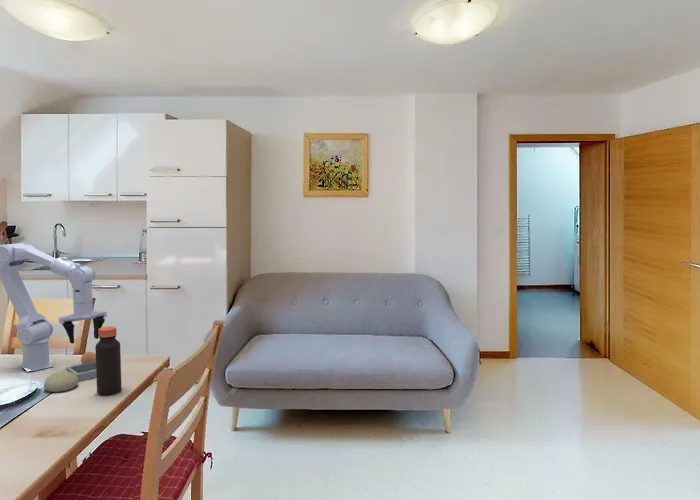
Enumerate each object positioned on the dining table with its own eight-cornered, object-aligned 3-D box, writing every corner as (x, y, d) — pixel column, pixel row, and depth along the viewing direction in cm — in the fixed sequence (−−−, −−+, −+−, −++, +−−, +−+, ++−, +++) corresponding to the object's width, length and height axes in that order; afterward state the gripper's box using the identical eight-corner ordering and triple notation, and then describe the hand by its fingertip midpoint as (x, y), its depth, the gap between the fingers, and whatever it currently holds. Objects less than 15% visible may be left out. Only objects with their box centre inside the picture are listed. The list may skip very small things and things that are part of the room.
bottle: (110, 385, 149) (108, 324, 147) (126, 389, 147) (124, 326, 145) (91, 393, 143) (89, 329, 141) (108, 397, 140) (106, 332, 138)
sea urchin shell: (64, 389, 141) (48, 369, 142) (50, 405, 143) (33, 385, 143) (87, 378, 150) (71, 359, 151) (73, 393, 152) (57, 375, 152)
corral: (66, 374, 158) (66, 367, 158) (100, 366, 166) (99, 359, 165) (76, 382, 151) (76, 374, 151) (111, 373, 159) (110, 366, 159)
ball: (79, 365, 166) (78, 352, 166) (94, 362, 170) (93, 349, 169) (84, 369, 163) (83, 355, 162) (99, 365, 167) (98, 352, 166)
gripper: (62, 306, 153) (64, 347, 154) (109, 300, 163) (110, 338, 165) (56, 303, 157) (57, 342, 159) (102, 297, 168) (103, 334, 169)
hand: (84, 340), depth 162 cm, fingers open, 7 cm apart
